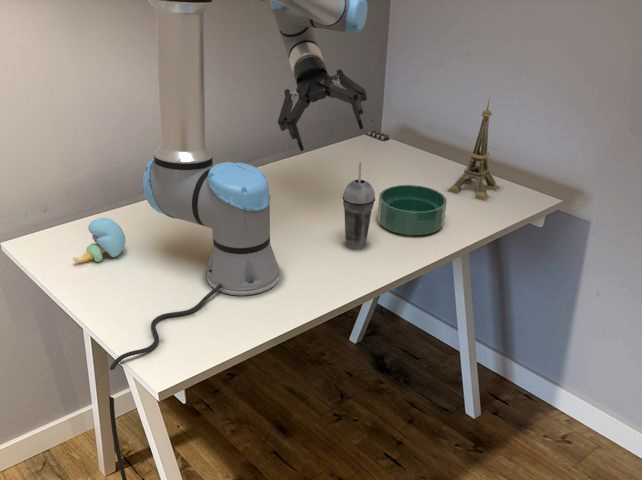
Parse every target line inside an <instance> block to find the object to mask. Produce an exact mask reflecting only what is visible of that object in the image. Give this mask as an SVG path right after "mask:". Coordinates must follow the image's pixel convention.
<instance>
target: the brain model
mask: <svg viewBox="0 0 642 480" xmlns="http://www.w3.org/2000/svg"><path fill="white" fill-rule="evenodd" d="M88 232H89V234H91V238H92V240H93V241H94V242H92V243H90V244H89V245H88V246H87V247H86V250H85V252H84V254H82V255H81V256H79V257H76V256H73V257H72V260H73V262H74V263H76V264H80V263H83V262H87V261H89V260H94V261H95V262H96V263H99V262H101V261H103V258H104V257H103V253H105V252H106V253H107V254H108V255H109V256H110V257H112V258H116V257H118V256H119V255H120V254H121V252H123V250H124V249H125V247H126V235H125V232H124V230H123V228H122V227H121V226H120V225H119V224H118V223H117V222H116V221H114V220H112V219H111V218H110V217H109V218H108V217H99V218H96V219H94V220H92V221H90V222H89V224H88Z"/></svg>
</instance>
